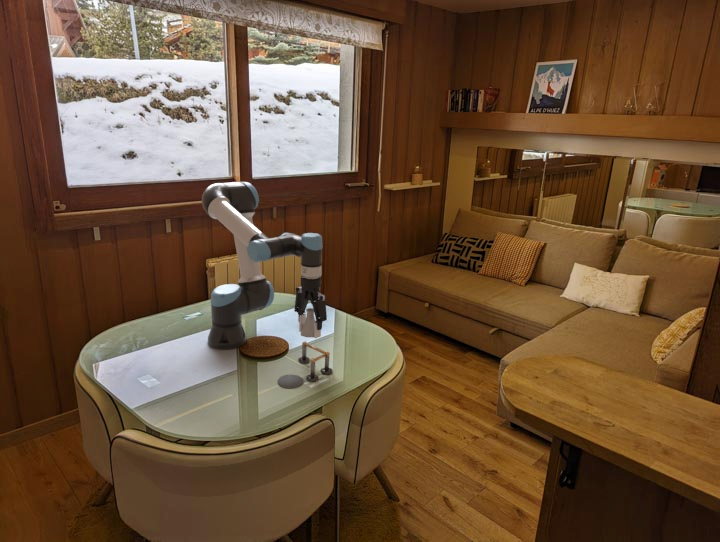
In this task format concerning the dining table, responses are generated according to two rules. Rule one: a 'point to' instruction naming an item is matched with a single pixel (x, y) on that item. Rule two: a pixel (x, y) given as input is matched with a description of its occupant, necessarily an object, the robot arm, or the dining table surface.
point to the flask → (308, 324)
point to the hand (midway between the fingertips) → (309, 333)
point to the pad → (290, 381)
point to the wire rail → (304, 359)
